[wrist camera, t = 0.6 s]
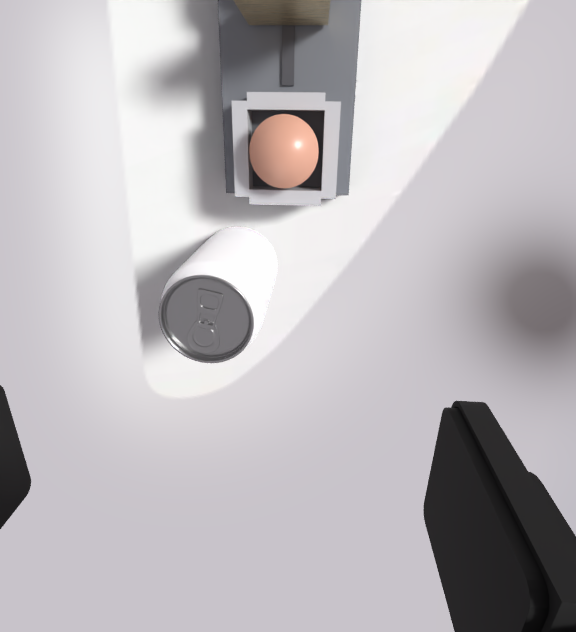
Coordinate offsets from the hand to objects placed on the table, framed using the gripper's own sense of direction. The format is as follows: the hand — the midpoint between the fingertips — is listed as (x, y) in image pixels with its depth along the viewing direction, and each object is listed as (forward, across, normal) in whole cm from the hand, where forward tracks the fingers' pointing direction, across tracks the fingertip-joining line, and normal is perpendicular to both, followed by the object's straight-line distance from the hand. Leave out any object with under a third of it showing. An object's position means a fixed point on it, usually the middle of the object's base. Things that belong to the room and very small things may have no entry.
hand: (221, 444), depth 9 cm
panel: (+27, 0, -11) cm, 29 cm away
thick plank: (+25, 0, -13) cm, 28 cm away
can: (+27, +4, +4) cm, 28 cm away
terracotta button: (+24, 0, -5) cm, 24 cm away
